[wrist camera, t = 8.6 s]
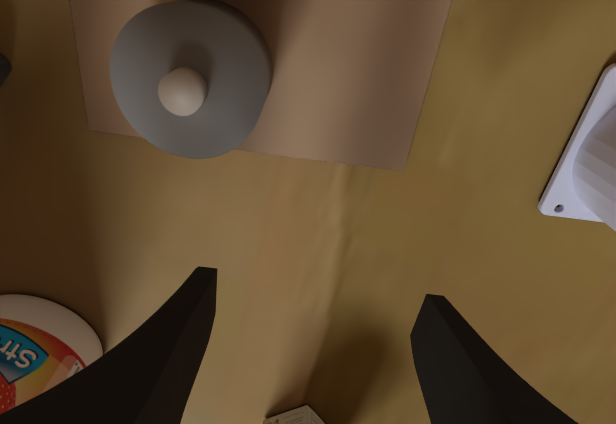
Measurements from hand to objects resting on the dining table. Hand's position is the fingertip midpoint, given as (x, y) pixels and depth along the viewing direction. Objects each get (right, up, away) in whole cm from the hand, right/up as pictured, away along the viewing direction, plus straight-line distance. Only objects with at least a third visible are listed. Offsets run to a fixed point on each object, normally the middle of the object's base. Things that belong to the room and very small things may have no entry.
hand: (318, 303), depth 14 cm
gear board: (-2, +12, +4) cm, 13 cm away
